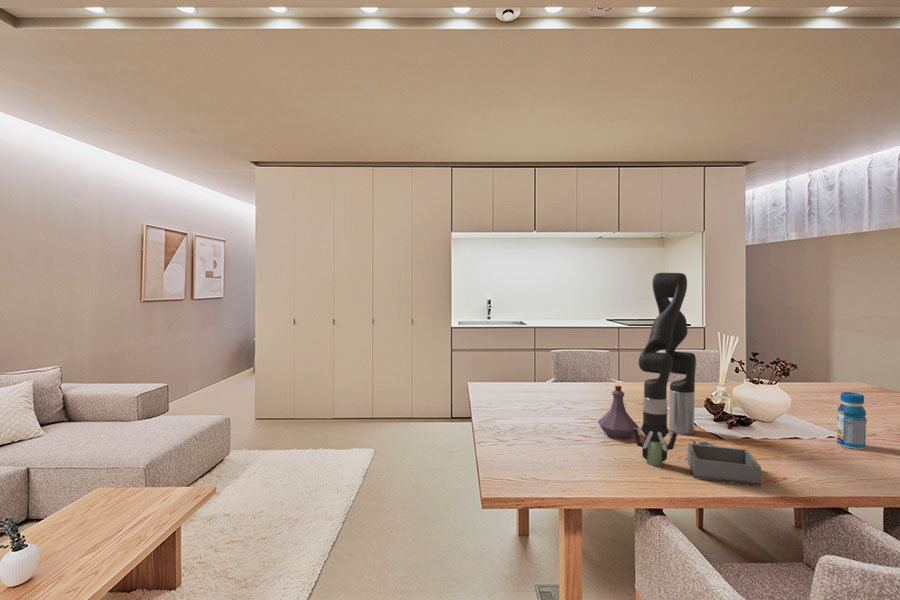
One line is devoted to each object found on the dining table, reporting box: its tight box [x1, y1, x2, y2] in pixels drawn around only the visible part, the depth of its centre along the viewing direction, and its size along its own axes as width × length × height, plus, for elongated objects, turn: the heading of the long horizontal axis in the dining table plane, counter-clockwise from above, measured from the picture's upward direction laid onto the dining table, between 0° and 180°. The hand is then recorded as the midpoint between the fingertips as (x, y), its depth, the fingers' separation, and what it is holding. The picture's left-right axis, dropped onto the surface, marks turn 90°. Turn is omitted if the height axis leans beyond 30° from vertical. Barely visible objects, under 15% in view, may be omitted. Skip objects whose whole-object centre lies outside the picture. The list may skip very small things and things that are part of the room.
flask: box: [597, 385, 640, 440], centre depth 189 cm, size 16×16×20 cm
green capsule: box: [646, 440, 664, 467], centre depth 159 cm, size 5×5×8 cm
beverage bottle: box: [836, 391, 867, 450], centre depth 175 cm, size 8×8×20 cm
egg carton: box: [689, 438, 717, 446], centre depth 169 cm, size 11×8×4 cm
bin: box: [687, 442, 762, 487], centre depth 151 cm, size 16×18×6 cm
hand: (654, 459), depth 159 cm, fingers closed on green capsule, 5 cm apart
